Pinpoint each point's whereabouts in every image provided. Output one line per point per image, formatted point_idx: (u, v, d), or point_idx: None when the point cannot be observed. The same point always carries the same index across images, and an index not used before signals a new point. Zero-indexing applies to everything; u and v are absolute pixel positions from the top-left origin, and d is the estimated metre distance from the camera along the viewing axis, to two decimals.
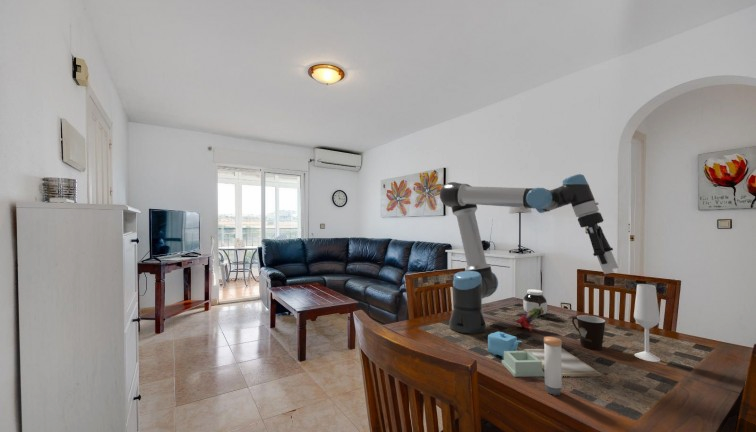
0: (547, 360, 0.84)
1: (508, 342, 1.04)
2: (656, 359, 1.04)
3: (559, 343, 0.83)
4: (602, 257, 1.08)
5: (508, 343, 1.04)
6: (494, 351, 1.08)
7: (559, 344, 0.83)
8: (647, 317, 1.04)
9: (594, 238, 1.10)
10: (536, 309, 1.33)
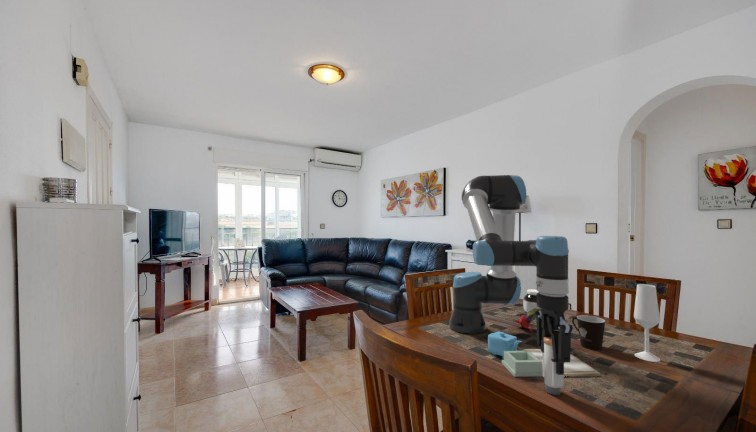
0: (547, 359, 0.84)
1: (508, 342, 1.04)
2: (656, 359, 1.04)
3: None
4: None
5: (508, 343, 1.04)
6: (494, 351, 1.08)
7: None
8: (647, 317, 1.04)
9: None
10: (536, 309, 1.33)
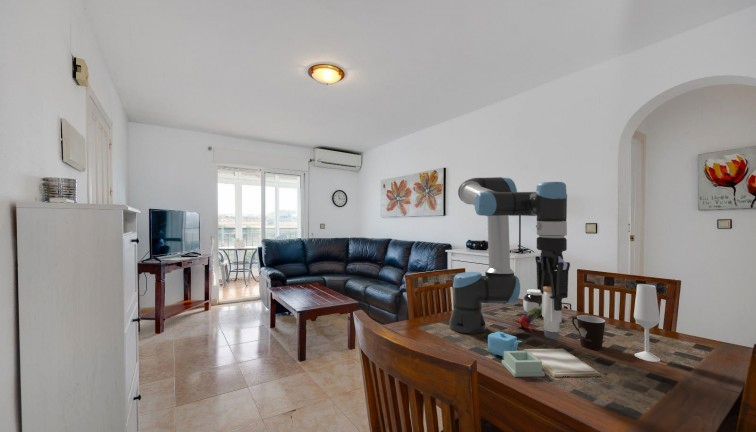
0: (546, 306, 0.89)
1: (508, 342, 1.04)
2: (656, 359, 1.04)
3: None
4: None
5: (508, 343, 1.04)
6: (494, 351, 1.08)
7: None
8: (647, 317, 1.04)
9: None
10: (536, 309, 1.33)
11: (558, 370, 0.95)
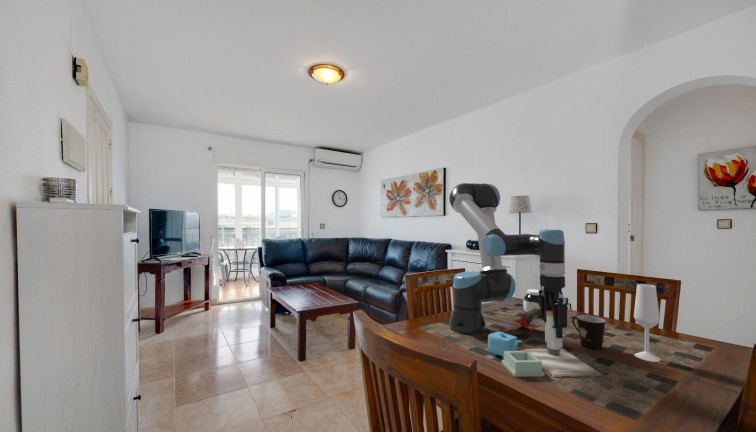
0: (549, 327, 1.06)
1: (508, 342, 1.04)
2: (656, 359, 1.04)
3: None
4: None
5: (508, 343, 1.04)
6: (494, 351, 1.08)
7: None
8: (647, 317, 1.04)
9: None
10: (536, 309, 1.33)
11: (558, 370, 0.95)
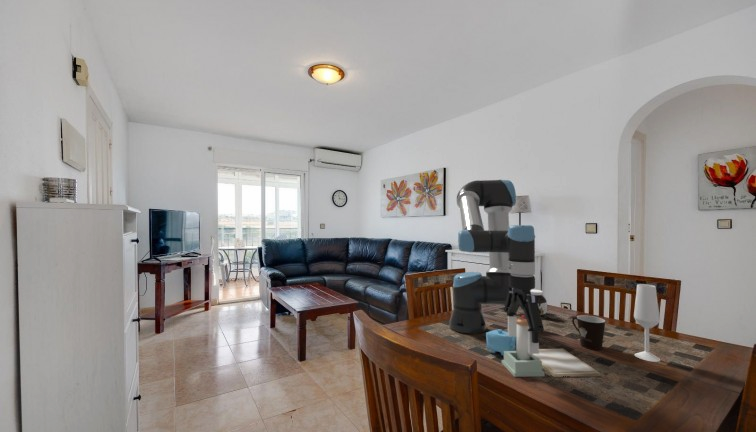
0: (518, 337, 0.97)
1: (506, 337, 1.06)
2: (656, 359, 1.04)
3: None
4: None
5: (506, 338, 1.06)
6: (493, 348, 1.08)
7: None
8: (647, 317, 1.04)
9: None
10: None
11: (558, 370, 0.95)
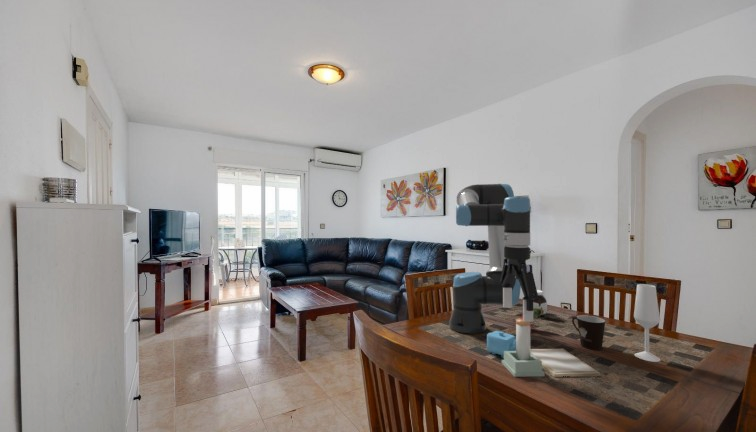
0: (518, 337, 0.97)
1: (507, 341, 1.05)
2: (656, 359, 1.04)
3: (528, 323, 0.96)
4: None
5: (507, 342, 1.05)
6: (493, 350, 1.08)
7: (528, 324, 0.96)
8: (647, 317, 1.04)
9: None
10: (536, 309, 1.33)
11: (558, 370, 0.95)
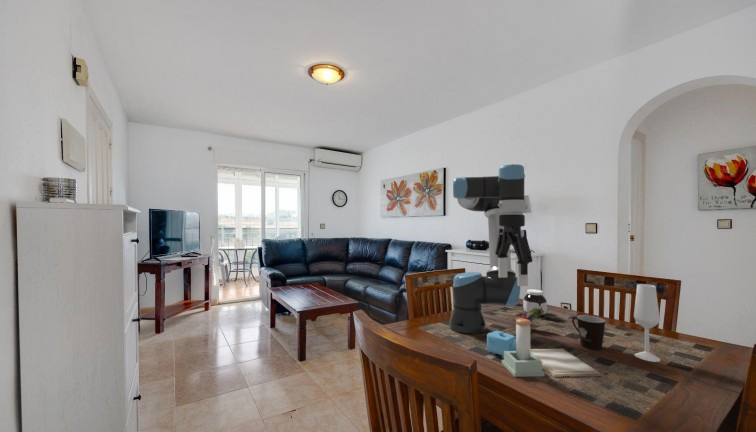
0: (518, 337, 0.97)
1: (507, 341, 1.05)
2: (656, 359, 1.04)
3: (528, 323, 0.96)
4: None
5: (507, 342, 1.05)
6: (493, 350, 1.08)
7: (528, 324, 0.96)
8: (647, 317, 1.04)
9: None
10: (536, 309, 1.33)
11: (558, 370, 0.95)
